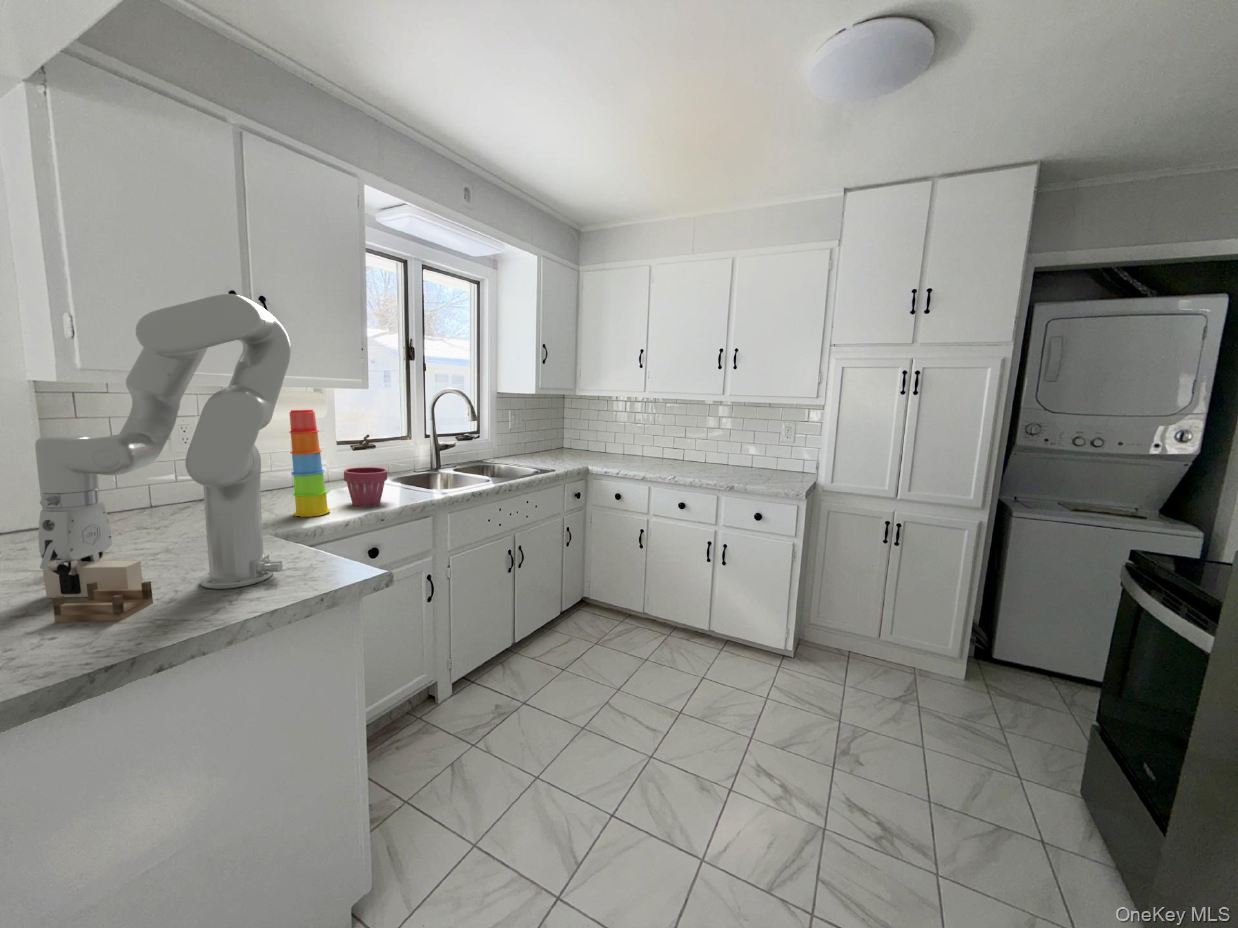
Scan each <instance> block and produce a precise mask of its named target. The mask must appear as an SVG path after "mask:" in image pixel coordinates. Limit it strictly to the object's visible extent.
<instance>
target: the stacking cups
mask: <svg viewBox="0 0 1238 928" xmlns="http://www.w3.org/2000/svg"><path fill="white" fill-rule="evenodd" d="M289 425H290V431H289V433H290V440H291V451H290V452H289V453H290V454H291V460H292V470H293V471H292V472H291V475H292V476H293V487H294V492H292V496H293V497H294V501H295V512H293V516H295V517H297V516H300V517H299V518H312V517H318V516H323V515H326V514H329V513H330V512H331V509H330V508H328V507H329V506H328V500H327V493H328V489H326V486H325V476H324V472H325V469H323V463H322V455H321V453H322V450H321V449H320V441H319V433H318V432H320V431H319V429H317V419H316V412H315V411H314V409H290V412H289Z"/></svg>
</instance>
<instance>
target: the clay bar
mask: <svg viewBox="0 0 1238 928" xmlns="http://www.w3.org/2000/svg"><path fill="white" fill-rule="evenodd" d="M64 565H66V566H68V563H64ZM42 573H43V574H42V575H43V581H44V587H45V588H44V589H45V593H46V594H45V596H46V598H48V599H49V598H54V597H56V596H64V598H86V597H87V598H88V594H87V585H86V584H87V583H90V582H97V588H98V589H137V588H142V587H141V583H143V582H144V579H143V573H142V563H141V560H110V561H109V560H103V561H102V560H100V561H78V562H77V574H79V579H80V588H81V593H79V594H61V591H60V582H59V575H55V573H54V572H53V571H51V570H44V569H42Z"/></svg>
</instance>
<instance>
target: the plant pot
mask: <svg viewBox="0 0 1238 928" xmlns="http://www.w3.org/2000/svg"><path fill="white" fill-rule="evenodd" d="M387 480H388V470H387V468H384V467H374V466H369V467H368V466H367V467H366V466H362V467H360V466H358V467H350V468H345V469H344V470H343V481H344V482H346V485H347V488H348V493H349V497H350V499H351V504H352V506H354V507H359V508H360V507H361V508H362V507H364V508H365V507H374V506H375V507H376V506H378V505H380V504H381V500H382V496H383V492H384V488H385V482H386V481H387Z"/></svg>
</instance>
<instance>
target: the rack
mask: <svg viewBox="0 0 1238 928" xmlns="http://www.w3.org/2000/svg"><path fill="white" fill-rule="evenodd" d="M86 585H87V594H88V597H87V600H85V601H83V602H75V603H74V602H71V603H69V602H68V603H67V602H66V601H65V597H64V596H56V597H53V598H52V605H53V613H54V616H53V617H54V622H55V623H71V622H72V623H74V622H77V623H78V622H79V623H80V622H114V621H115V622H120V621H122V620H125V619H126V618H128V617H130V616H131V615H133V614H135V613H137V612H139V611H141V610H143V609H144V608H148V606H150V605H152V604H154V599H153V591H152V581H143V583H141V587H142V588H137V589H98V588H97V582H90V583H87V584H86Z"/></svg>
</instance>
